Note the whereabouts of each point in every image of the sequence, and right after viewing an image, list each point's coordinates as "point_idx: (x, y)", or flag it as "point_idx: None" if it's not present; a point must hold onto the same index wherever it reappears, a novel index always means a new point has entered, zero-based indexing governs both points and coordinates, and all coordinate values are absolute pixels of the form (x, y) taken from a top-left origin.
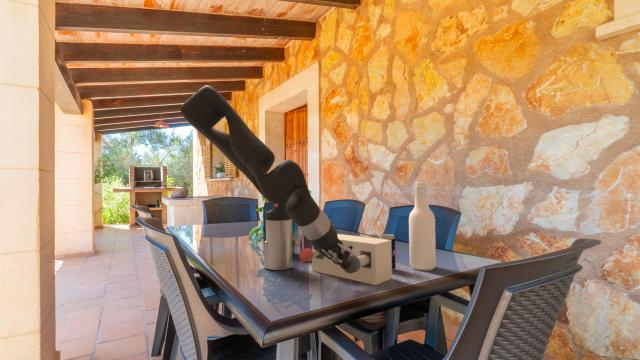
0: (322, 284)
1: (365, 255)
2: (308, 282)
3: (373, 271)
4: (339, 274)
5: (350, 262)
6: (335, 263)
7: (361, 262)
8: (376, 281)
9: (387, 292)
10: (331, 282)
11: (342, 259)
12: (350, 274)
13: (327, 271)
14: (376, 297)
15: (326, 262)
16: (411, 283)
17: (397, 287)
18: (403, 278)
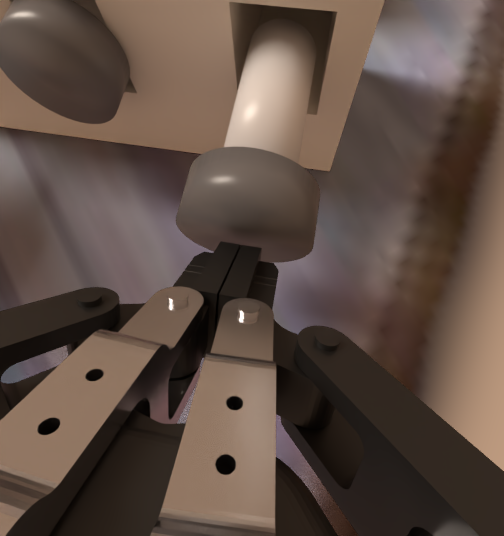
0: (94, 281)
1: (290, 50)
2: (12, 288)
3: (328, 125)
4: (117, 135)
5: (260, 233)
6: (76, 119)
7: (300, 149)
8: (333, 156)
9: (427, 236)
10: (122, 232)
11: (300, 450)
12: (180, 135)
13: (42, 123)
14: (424, 328)
15: (3, 86)
16: (445, 82)
17: (426, 154)
18: (383, 41)
